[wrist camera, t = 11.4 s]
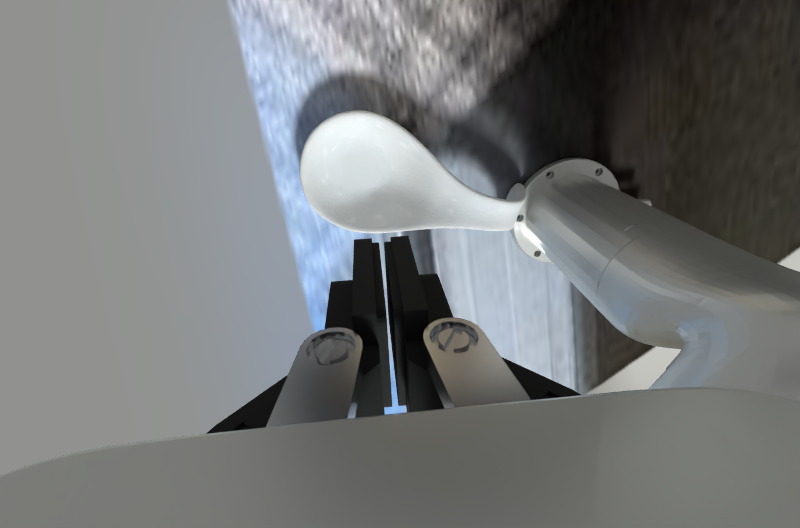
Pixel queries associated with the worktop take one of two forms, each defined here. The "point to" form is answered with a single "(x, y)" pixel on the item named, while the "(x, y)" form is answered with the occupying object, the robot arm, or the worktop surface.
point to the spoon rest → (391, 181)
